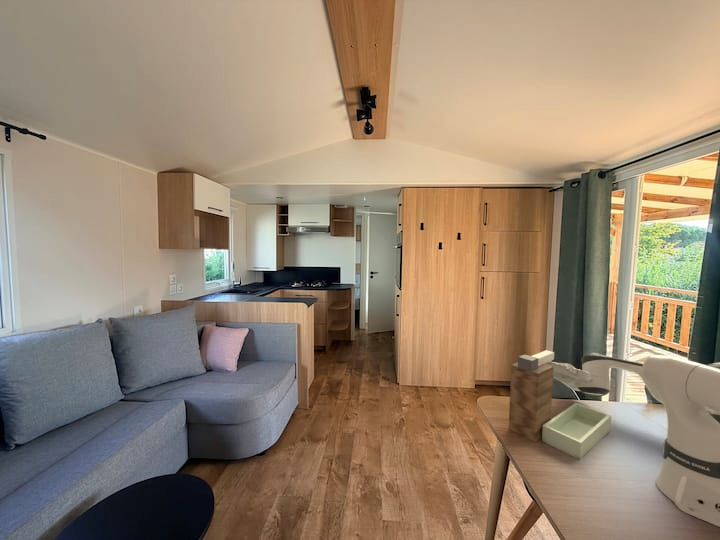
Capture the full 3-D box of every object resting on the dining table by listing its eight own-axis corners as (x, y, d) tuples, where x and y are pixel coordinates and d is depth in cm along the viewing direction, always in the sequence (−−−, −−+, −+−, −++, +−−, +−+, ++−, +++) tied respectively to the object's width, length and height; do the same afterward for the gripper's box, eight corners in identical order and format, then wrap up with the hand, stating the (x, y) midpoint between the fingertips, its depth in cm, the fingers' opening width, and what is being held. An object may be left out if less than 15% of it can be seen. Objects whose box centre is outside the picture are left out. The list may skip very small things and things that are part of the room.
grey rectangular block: (556, 360, 121) (557, 350, 121) (531, 371, 109) (531, 360, 109) (543, 356, 125) (543, 347, 125) (517, 367, 113) (518, 356, 113)
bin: (610, 430, 117) (611, 415, 116) (580, 459, 100) (581, 442, 99) (575, 416, 126) (575, 402, 126) (542, 440, 109) (542, 425, 109)
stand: (550, 431, 115) (553, 366, 114) (535, 442, 109) (538, 373, 107) (524, 419, 124) (526, 358, 122) (508, 428, 117) (511, 364, 115)
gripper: (592, 389, 125) (582, 380, 118) (541, 372, 142) (529, 364, 135) (596, 375, 127) (586, 365, 119) (544, 360, 143) (533, 351, 136)
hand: (556, 364), depth 127 cm, fingers open, 8 cm apart
